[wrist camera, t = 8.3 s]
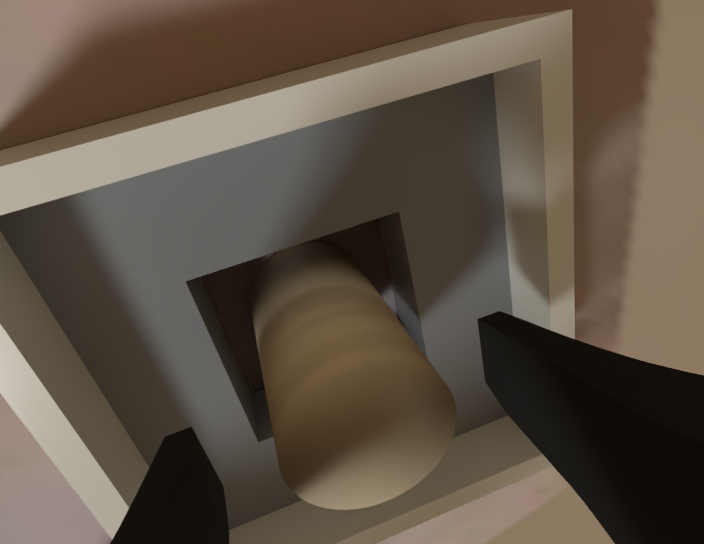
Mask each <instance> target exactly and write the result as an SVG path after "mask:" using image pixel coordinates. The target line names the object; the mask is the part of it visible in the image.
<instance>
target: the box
mask: <svg viewBox="0 0 704 544" xmlns="http://www.w3.org/2000/svg"><path fill="white" fill-rule="evenodd" d="M375 219H378V223H379V227H380V232H381V237H382V241H383V246H384V250H385V255H386V260H387V264H388V269H389V273H390V278H391V283H392V287H393V292H394V296H395V301H396V305H397V310H398V315H399V319H400V322H401V324H402V325H403V327H404V328H405V329H406V331H407V332H408V333H409V335H410V336H411V337H412V339H413V340H414V341H415V343H416V344H417V345H418V347H419V348H420V350H421V351H422V352H423V354H424V355H425V356H426V358H427V359H428V360H429V362H430V363H431V364H432V366H433V367H434V368H435V370H436V371H437V373H438V374H439V375H440V377H441V378H442V379H443V381H444V382H445V383H446V385H447V386H448V388H449V389H450V391H451V393H452V395H453V397H454V401H455V404H456V412H457V419H456V427H455V432H454V435H453V438H452V441H451V443H450V445H449V447H448V449H447V451H446V453H445V454H444V456H443V457H442V459H441V460H440V462H439V463H438V464H437V465H436V467H435V468H434V469H433V470H432V471H431V472H430V473H429V474H428V475H427V476H426V477H425V478H424V479H422V480H421V481H420V482H419V483H418V484H416V485H415V486H413V487H412V488H411V489H409V490H407V491H406V492H404V493H402V494H401V495H399V496H397V497H395V498H393V499H390V500H388V501H385V502H383V503H380V504H377V505H373V506H370V507H365V508H360V509H351V510H335V509H328V508H323V507H319V506H316V505H313V504H311V503H308V502H306V501H305V500H303V499H301V498H300V497H298V496H297V495H296V494H295V493H294V492H292V491H291V489H290V488H289V487H288V486H287V485H286V483H285V481H284V479H283V478H282V475H281V472H280V469H279V465H278V459H277V454H276V448H275V442H274V437H273V431H272V426H271V420H270V414H269V409H268V403H267V398H266V392H265V389H262V390H260V391H257V392H254V393H251V391H250V388H249V386H248V384H247V381H246V379H245V377H244V374H243V372H242V370H241V368H240V365H239V363H238V361H237V358H236V356H235V354H234V351H233V349H232V347H231V344H230V342H229V340H228V337H227V335H226V333H225V331H224V328H223V326H222V324H221V321H220V319H219V317H218V314H217V312H216V310H215V307H214V305H213V303H212V301H211V298H210V296H209V294H208V291H207V289H206V287H205V284H204V282H203V280H202V277H201V276H204V275H207V274H210V273H213V272H216V271H219V270H222V269H225V268H228V267H231V266H234V265H237V264H240V263H243V262H246V261H249V260H253V259H256V258H259V257H262V256H265V255H268V254H271V253H274V252H277V251H280V250H283V249H286V248H289V247H292V246H295V245H298V244H301V243H304V242H307V241H310V240H314V239H317V238H320V237H323V236H326V235H329V234H332V233H335V232H338V231H341V230H344V229H347V228H350V227H353V226H356V225H359V224H362V223H365V222H368V221H371V220H375ZM498 311H501V312H504V313H507V314H509V315H512V316H515V317H517V318H520V319H523V320H525V321H528V322H530V323H533V324H536V325H538V326H541V327H543V328H546V329H548V330H551V331H554V332H556V333H559V334H562V335H564V336H567V337H570V338H572V339H575V297H574V172H573V47H572V9H569V10H562V11H554V12H547V13H540V14H533V15H526V16H518V17H511V18H504V19H497V20H489V21H482V22H475V23H468V24H465V25H461V26H457V27H454V28H450V29H446V30H442V31H439V32H435V33H431V34H428V35H424V36H420V37H417V38H413V39H409V40H406V41H402V42H398V43H394V44H391V45H387V46H383V47H380V48H376V49H372V50H369V51H365V52H361V53H358V54H354V55H350V56H347V57H343V58H339V59H335V60H332V61H328V62H324V63H321V64H317V65H313V66H310V67H306V68H302V69H299V70H295V71H291V72H287V73H284V74H280V75H276V76H273V77H269V78H265V79H262V80H258V81H254V82H251V83H247V84H243V85H239V86H236V87H232V88H228V89H225V90H221V91H217V92H214V93H210V94H206V95H203V96H199V97H195V98H191V99H188V100H184V101H180V102H177V103H173V104H169V105H166V106H162V107H158V108H155V109H151V110H147V111H143V112H140V113H136V114H132V115H129V116H125V117H121V118H118V119H114V120H110V121H107V122H103V123H99V124H96V125H92V126H88V127H84V128H81V129H77V130H73V131H70V132H66V133H62V134H59V135H55V136H51V137H48V138H44V139H40V140H36V141H33V142H29V143H25V144H22V145H18V146H14V147H11V148H7V149H3V150H0V393H1V395H2V396H3V397H4V399H5V400H6V401H7V403H8V404H9V405H10V406H11V408H12V409H13V410H14V412H15V413H16V414H17V416H18V417H19V418H20V420H21V421H22V422H23V423H24V425H25V426H26V427H27V429H28V430H29V431H30V433H31V434H32V435H33V437H34V438H35V439H36V441H37V442H38V443H39V444H40V446H41V447H42V448H43V450H44V451H45V452H46V454H47V455H48V456H49V458H50V459H51V460H52V461H53V463H54V464H55V465H56V467H57V468H58V469H59V471H60V472H61V473H62V475H63V476H64V477H65V479H66V480H67V481H68V482H69V484H70V485H71V486H72V488H73V489H74V490H75V492H76V493H77V494H78V496H79V497H80V498H81V499H82V501H83V502H84V503H85V505H86V506H87V507H88V509H89V510H90V511H91V513H92V514H93V515H94V517H95V518H96V519H97V520H98V522H99V523H100V524H101V526H102V527H103V528H104V530H105V531H106V532H107V534H108V535H109V536H110V537H111V539H113V538H114V536H115V534H116V532H117V530H118V529H119V527H120V525H121V523H122V521H123V519H124V517H125V515H126V513H127V511H128V509H129V507H130V505H131V504H132V502H133V500H134V498H135V496H136V494H137V492H138V490H139V488H140V486H141V484H142V482H143V480H144V478H145V476H146V473H147V471H148V469H149V467H150V465H151V463H152V461H153V459H154V457H155V455H156V453H157V451H158V449H159V447H160V445H161V443H162V441H163V439H164V437H165V436H168V435H170V434H173V433H176V432H178V431H181V430H184V429H186V428H189V427H192V428H193V430H194V432H195V434H196V436H197V438H198V440H199V441H200V443H201V445H202V447H203V449H204V451H205V453H206V455H207V456H208V458H209V460H210V462H211V464H212V466H213V468H214V470H215V471H216V473H217V475H218V477H219V479H220V481H221V483H222V484H223V487H224V494H225V501H226V508H227V516H228V524H229V544H375V543H377V542H379V541H382V540H384V539H386V538H389V537H391V536H393V535H395V534H398V533H400V532H402V531H405V530H407V529H409V528H412V527H414V526H416V525H418V524H421V523H423V522H425V521H428V520H430V519H432V518H434V517H437V516H439V515H441V514H444V513H446V512H448V511H450V510H453V509H455V508H457V507H460V506H462V505H464V504H467V503H469V502H471V501H473V500H476V499H478V498H480V497H483V496H485V495H487V494H489V493H492V492H494V491H496V490H499V489H501V488H503V487H506V486H508V485H510V484H512V483H515V482H517V481H519V480H522V479H524V478H526V477H528V476H531V475H533V474H535V473H538V472H540V471H542V470H545V469H547V468H549V467H551V466H553V465H552V464H551V463H550V462H549V461H548V460H547V459H546V457H545V456H544V455H543V454H542V453H541V452H540V451H539V450H538V448H537V447H536V446H535V445H534V444H533V443H532V442H531V441H530V440H529V438H528V437H527V436H526V435H525V434H524V433H523V432H522V430H521V429H520V428H519V427H518V426H517V425H516V424H515V423H514V421H513V420H512V419H511V418H510V417H509V416H508V414H507V413H506V412H505V410H504V409H503V407H502V406H501V404H500V403H499V402H498V400H497V399H496V397H495V396H494V394H493V393H492V391H491V390H490V388H489V387H488V385H487V384H486V382H485V376H484V368H483V360H482V353H481V345H480V337H479V329H478V321H477V319H479V318H482V317H484V316H487V315H490V314H492V313H495V312H498Z"/></svg>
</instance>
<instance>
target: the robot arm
mask: <svg viewBox="0 0 704 544" xmlns="http://www.w3.org/2000/svg"><path fill="white" fill-rule="evenodd" d="M477 321H478V329H479V337H480V345H481V353H482V360H483V368H484V376H485V382H486V384H487V385H488V387H489V388H490V390H491V391H492V393H493V394H494V396H495V397H496V399H497V400H498V402H499V403H500V404H501V406H502V407H503V409H504V410H505V412H506V413H507V414H508V416H509V417H510V418H511V419H512V420H513V421H514V423H515V424H516V425H517V426H518V427H519V428H520V429H521V430H522V432H523V433H524V434H525V435H526V436H527V437H528V438H529V440H530V441H531V442H532V443H533V444H534V445H535V446H536V447H537V448H538V450H539V451H540V452H541V453H542V454H543V455H544V456H545V457H546V459H547V460H548V461H549V462H550V463H551V464H552V465H553V466H554V467H555V469H556V470H557V471H558V472H559V473H560V474H561V475H562V476H563V478H564V479H565V480H566V481H567V482H568V483H569V484H570V485H571V486H572V488H573V489H574V490H575V491H576V493H577V494H578V495H579V496H580V497H581V499H582V500H583V501H584V502H585V504H586V505H587V506H588V508H589V509H590V510H591V512H592V513H593V514H594V516H595V517H596V518H597V520H598V521H599V522H600V524H601V525H602V526H603V528H604V529H605V531H606V532H607V533H608V535H609V536H610V537H611V539H612V540H613V541H614V543H615V544H704V376H703V375H698V374H694V373H689V372H684V371H680V370H676V369H672V368H668V367H664V366H660V365H656V364H651V363H647V362H644V361H640V360H637V359H633V358H630V357H627V356H624V355H620V354H617V353H614V352H611V351H608V350H604V349H601V348H598V347H595V346H592V345H589V344H586V343H584V342H581V341H578V340H575V339H572V338H570V337H567V336H564V335H562V334H559V333H556V332H554V331H551V330H548V329H546V328H543V327H541V326H538V325H536V324H533V323H530V322H528V321H525V320H523V319H520V318H517V317H515V316H512V315H509V314H507V313H504V312H501V311H498V312H495V313H492V314H490V315H487V316H484V317H482V318H479V319H477ZM110 544H229V524H228V516H227V508H226V501H225V494H224V487H223V484H222V483H221V481H220V479H219V477H218V475H217V473H216V471H215V470H214V468H213V466H212V464H211V462H210V460H209V458H208V456H207V455H206V453H205V451H204V449H203V447H202V445H201V443H200V441H199V440H198V438H197V436H196V434H195V432H194V430H193V428H192V427H189V428H186V429H184V430H181V431H178V432H176V433H173V434H170V435H168V436H165V437H164V439H163V441H162V443H161V445H160V447H159V449H158V451H157V453H156V455H155V457H154V459H153V461H152V463H151V465H150V467H149V469H148V471H147V473H146V476H145V478H144V480H143V482H142V484H141V486H140V488H139V490H138V492H137V494H136V496H135V498H134V500H133V502H132V504H131V505H130V507H129V509H128V511H127V513H126V515H125V517H124V519H123V521H122V523H121V525H120V527H119V529H118V530H117V532H116V534H115V536H114V538H113V539H112V541H111V543H110Z"/></svg>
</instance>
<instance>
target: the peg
mask: <svg viewBox="0 0 704 544" xmlns="http://www.w3.org/2000/svg"><path fill="white" fill-rule="evenodd" d="M250 308H251V314H252V319H253V325H254V330H255V336H256V342H257V347H258V353H259V358H260V364H261V370H262V375H263V381H264V386H265V392H266V398H267V403H268V409H269V414H270V420H271V426H272V431H273V437H274V442H275V448H276V454H277V459H278V465H279V469H280V472H281V475H282V478H283V479H284V481H285V483H286V485H287V486H288V487H289V488H290V489H291V491H292V492H294V493H295V494H296V495H297V496H298V497H300V498H301V499H303V500H305V501H306V502H308V503H311V504H313V505H316V506H319V507H323V508H328V509H335V510H351V509H360V508H365V507H370V506H373V505H377V504H380V503H383V502H385V501H388V500H390V499H393V498H395V497H397V496H399V495H401V494H402V493H404V492H406V491H407V490H409V489H411V488H412V487H413V486H415V485H416V484H418V483H419V482H420V481H421V480H422V479H424V478H425V477H426V476H427V475H428V474H429V473H430V472H431V471H432V470H433V469H434V468H435V467H436V465H437V464H438V463H439V462H440V460H441V459H442V457H443V456H444V454H445V453H446V451H447V449H448V447H449V445H450V443H451V441H452V438H453V435H454V432H455V427H456V419H457V412H456V404H455V401H454V397H453V395H452V393H451V391H450V389H449V388H448V386H447V385H446V383H445V382H444V381H443V379H442V378H441V377H440V375H439V374H438V373H437V371H436V370H435V368H434V367H433V366H432V364H431V363H430V362H429V360H428V359H427V358H426V356H425V355H424V354H423V352H422V351H421V350H420V348H419V347H418V345H417V344H416V343H415V341H414V340H413V339H412V337H411V336H410V335H409V333H408V332H407V331H406V329H405V328H404V327H403V325H402V324H401V322H400V321H399V320H398V318H397V317H396V316H395V314H394V313H393V312H392V310H391V309H390V308H389V306H388V305H387V304H386V302H385V301H384V300H383V298H382V297H381V295H380V294H379V293H378V291H377V290H376V289H375V287H374V286H373V285H372V283H371V282H370V281H369V279H368V278H367V277H366V275H365V274H364V272H363V271H362V270H361V268H360V267H359V266H358V264H357V263H356V262H355V260H354V259H353V258H352V257H351V256H350V255H349V254H348V253H346V252H345V251H344V250H342V249H340V248H339V247H337V246H334V245H332V244H328V243H324V242H317V241H308V242H304V243H301V244H298V245H295V246H292V247H289V248H286V249H283V250H280V251H278V252H276V253H275V254H273V255H272V256H271V257H270V258H269V259H268V260H266V261H265V262H264V264H263V265H262V266H261V267H260V269H259V270H258V272H257V273H256V275H255V278H254V280H253V282H252V286H251V290H250Z"/></svg>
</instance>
